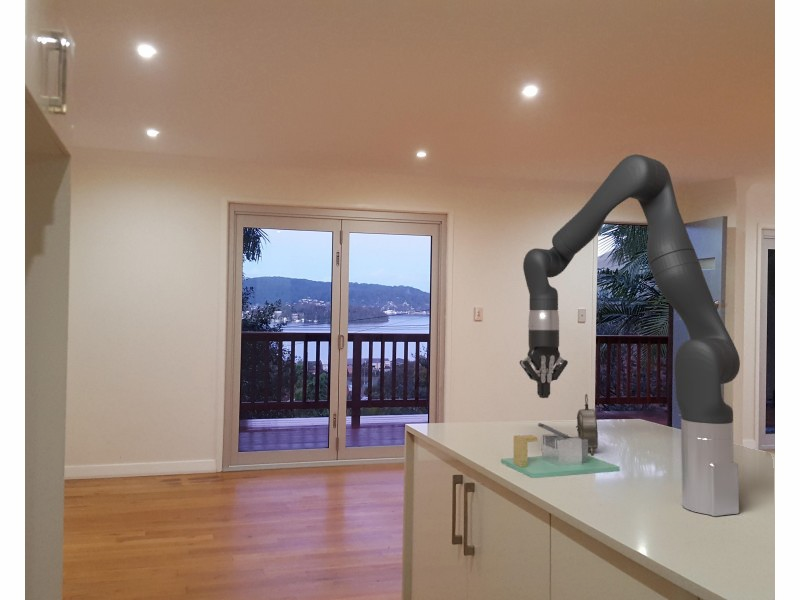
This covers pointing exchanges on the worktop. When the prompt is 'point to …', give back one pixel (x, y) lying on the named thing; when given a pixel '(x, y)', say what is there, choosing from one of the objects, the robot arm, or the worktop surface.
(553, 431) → the strap
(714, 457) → the robot arm
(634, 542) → the worktop surface
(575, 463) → the heat sink
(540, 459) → the pcb board
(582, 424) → the alarm clock
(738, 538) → the worktop surface
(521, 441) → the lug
